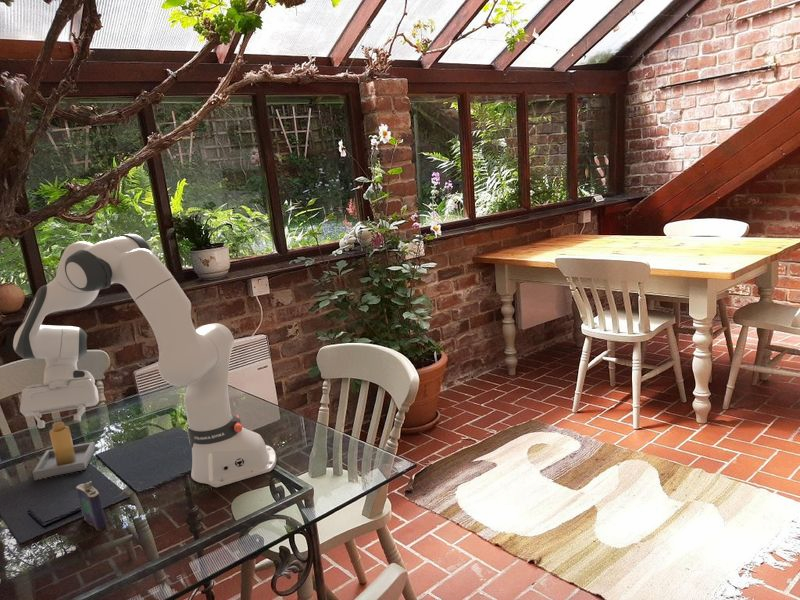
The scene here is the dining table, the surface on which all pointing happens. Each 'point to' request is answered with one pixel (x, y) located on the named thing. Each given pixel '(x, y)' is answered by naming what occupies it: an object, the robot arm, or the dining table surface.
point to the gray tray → (50, 467)
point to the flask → (91, 506)
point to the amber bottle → (62, 444)
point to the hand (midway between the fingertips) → (59, 424)
